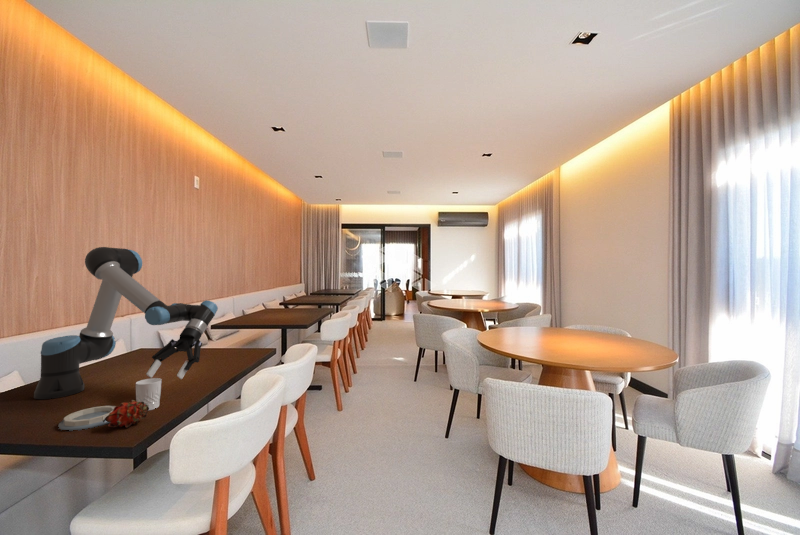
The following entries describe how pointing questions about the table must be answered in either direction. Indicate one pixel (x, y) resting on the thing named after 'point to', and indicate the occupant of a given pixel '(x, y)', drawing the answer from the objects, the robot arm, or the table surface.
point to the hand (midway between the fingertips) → (163, 376)
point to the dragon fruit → (127, 414)
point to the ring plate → (86, 418)
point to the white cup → (149, 392)
